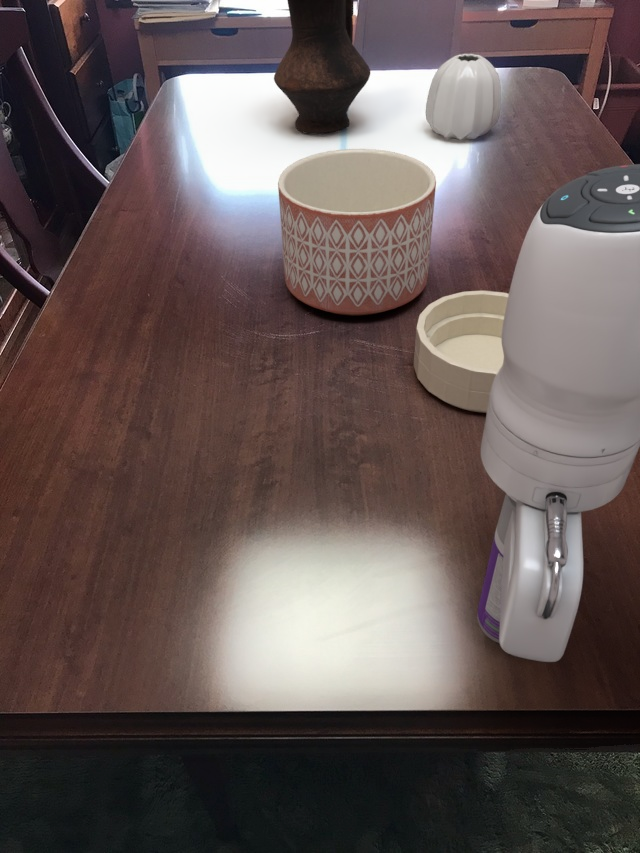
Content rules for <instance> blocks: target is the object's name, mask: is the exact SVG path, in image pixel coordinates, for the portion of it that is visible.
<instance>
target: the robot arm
mask: <svg viewBox="0 0 640 853" xmlns="http://www.w3.org/2000/svg"><path fill="white" fill-rule="evenodd" d="M508 294H509V295H508V300H507V305H506V310H505V315H504V321H503V326H502V334H501V340H502V348H503V353H504V359H503V364H502V366H501V368H500V369H499V371H498V373H497V375H496V377H495V378H494V381H493V384H492V387H491V392H490V398H489V404H488V409H487V413H486V415H485V420H484V426H483V431H482V437H481V442H480V451H479V452H480V458H481V463H482V466H483V468H484V470H485V472H486V474H487V475H488V476H489V478H490V479H491V480H492V481H493V483H494V484H495V485H496V486H497V487H498V488H499V489H501V491H503V492H504V493H505V495H506V494H507V495H508V496H509V497H510V498H511V499H513V500H514V501H515V502H516V512H515V511H514V510H512V514H511V518H510V521H509V525H508V529H507V533H506V536H505V540H504V557H503V575H502V593H501V611H500V629H499V642H500V643H499V646H500V648H501V649H502V650H503V651H504V652H505V653H507V654H508V655H510V656H514V657H518V658H522V659H525V660H531V661H536V662H542V663H544V662H545V663H556V662H558V661H560V660H561V659H562V657H563V656H564V654H565V651H566V648H567V645H568V642H569V639H570V637H571V633H572V630H573V627H574V623H575V620H576V618H577V613H578V609H579V605H580V601H581V597H582V596H581V595H582V592H583V581H584V547H583V546H584V545H583V524H582V523H583V522H582V512H583V513H584V512H588V511H592V510H595V509H598V508H601V507H603V506H605V505H607V504H608V503H610V502H612V501H613V500H614V499H615V498H617V496H618V495H619V494H620V493H621V491H623V489H624V487H625V485H626V482H627V479H628V477H629V475H630V472H631V470H632V467H633V464H634V462H635V459H636V457H637V454H638V452H639V450H640V163H636V164H623V165H615V166H610V167H605V168H600V169H597V170H593V171H590V172H588V173H586V174H584V175H582V176H579V177H577V178H574V179H573V180H570V181H568V182H567V183H565V184H563V185H562V186H560V187H559V188H558V189H556V190H555V191H554V192H552V194H550V196H549V197H547V198H546V199H545V200H544V202H543V203H542V204H541V206H540V208H539V209H538V211H537V212H536V214H535V215H534V217H533V219H532V221H531V223H530V225H529V227H528V229H527V231H526V234H525V236H524V239H523V242H522V244H521V248H520V250H519V253H518V257H517V260H516V264H515V267H514V271H513V275H512V279H511V284H510V287H509V291H508Z"/></svg>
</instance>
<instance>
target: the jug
mask: <svg viewBox="0 0 640 853" xmlns="http://www.w3.org/2000/svg"><path fill="white" fill-rule="evenodd" d="M286 1H287V6H288V11H289V19H290V26H291V32H292V33H291V34H292V36H291V41H290V45H289V47H288V49H287V51H286V53H285V54H284V56H283V57H282V59H281V61H280V62H279V63H278V66H277V68H276V70H275V73H274V76H273V81H274V83H275V85H276V86H277V88H278V89H280V91H281V92H282V93H283V94H284V95H285V96H286V97H287V98H288V100H289V101H290V103H292V105H293V106H294V108H295V110H296V111H297V114H298V116H297V117H296V119H295V122H294V127H295V129H296V130H297V131H298V132H299V133H302V134H303V133H304V134H307V135H309V134H311V135H330V134H334V133H337V132H342V131H344V130H346V129H348V128H349V127H350V124H351V123H350V118H349V115H348V110H349V109H350V106H351V105H352V103H353V102H354V101H355V99H356V97H357V96H358V94H359V93H360V92H361V91H362V90H363V88H364V87H365V86H366V84H367V83H368V81H369V80H370V76H371V69H370V66H369V64H368V63H367V62H366V61H365V59H364V57H363V56H362V55H361V54H360V53H359V51H358V50H357V49H356V47H355V46H354V44H353V41H354V21H353V20H354V19H353V17H354V0H286Z"/></svg>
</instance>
